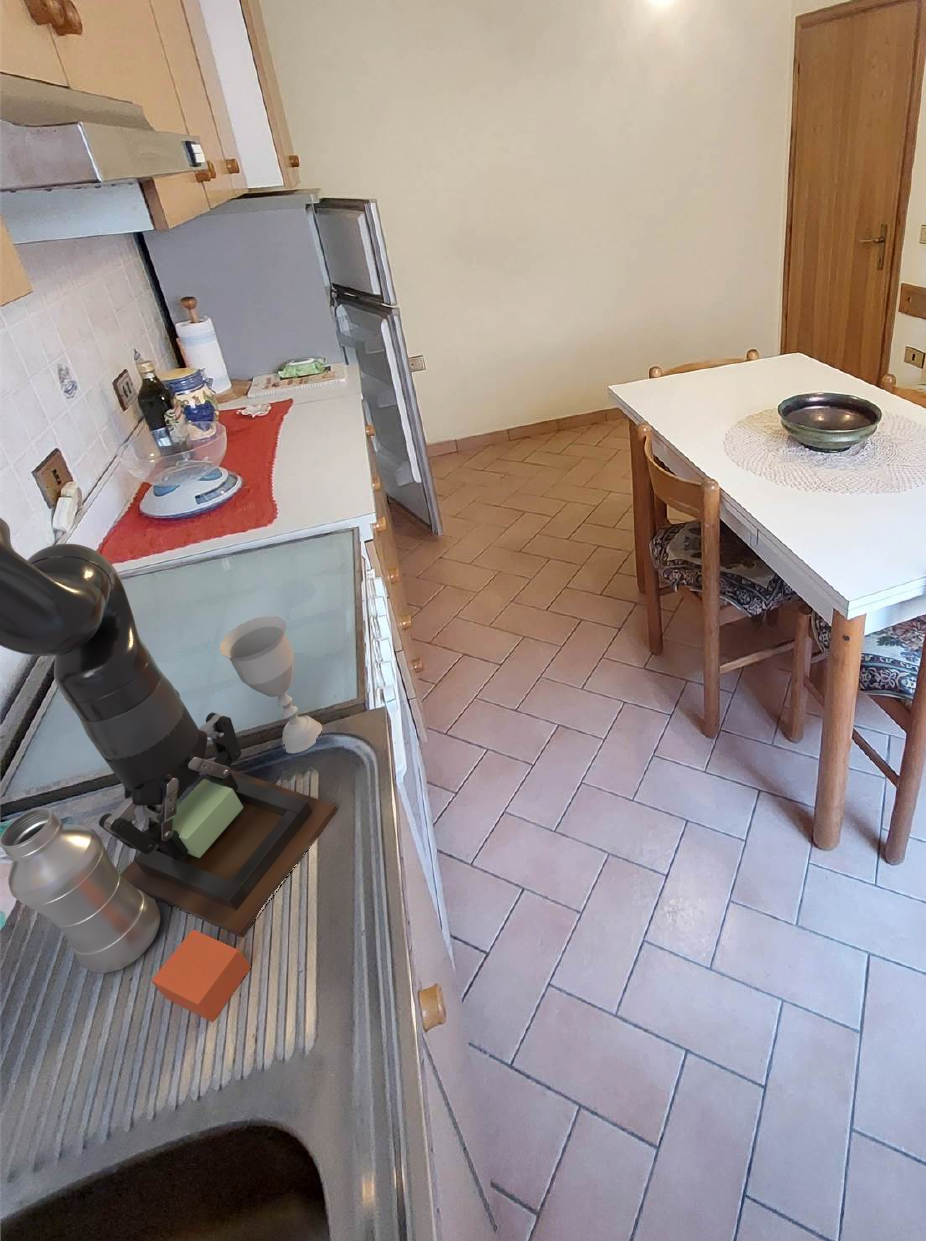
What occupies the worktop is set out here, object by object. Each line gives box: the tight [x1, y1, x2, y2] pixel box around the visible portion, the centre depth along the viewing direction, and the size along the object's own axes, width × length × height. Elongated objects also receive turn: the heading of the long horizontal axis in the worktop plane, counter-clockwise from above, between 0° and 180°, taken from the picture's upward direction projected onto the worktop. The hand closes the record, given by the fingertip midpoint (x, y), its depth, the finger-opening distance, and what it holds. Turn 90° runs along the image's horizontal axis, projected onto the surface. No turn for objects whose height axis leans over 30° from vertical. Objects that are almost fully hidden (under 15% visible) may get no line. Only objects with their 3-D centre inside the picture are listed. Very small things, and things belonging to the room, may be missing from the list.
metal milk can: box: [0, 807, 161, 974], centre depth 63 cm, size 6×7×20 cm
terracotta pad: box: [150, 929, 252, 1023], centre depth 63 cm, size 6×4×4 cm
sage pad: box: [173, 778, 243, 858], centre depth 75 cm, size 6×4×4 cm
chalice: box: [219, 615, 323, 754], centre depth 84 cm, size 7×7×18 cm
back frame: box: [120, 769, 338, 938], centre depth 75 cm, size 18×14×3 cm
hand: (205, 823), depth 75 cm, fingers closed on sage pad, 6 cm apart
